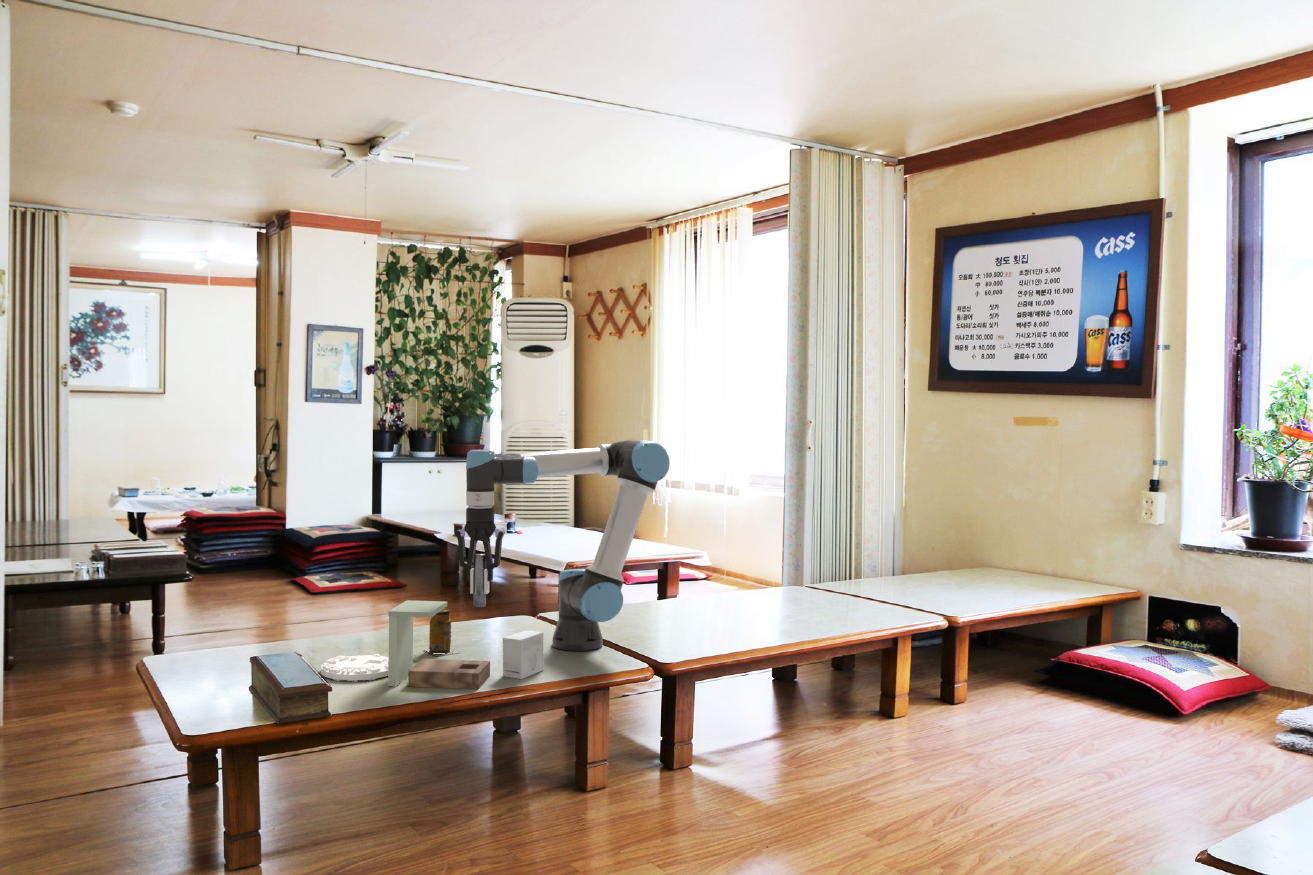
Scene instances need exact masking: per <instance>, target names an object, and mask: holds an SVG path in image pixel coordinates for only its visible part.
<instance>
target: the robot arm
mask: <svg viewBox="0 0 1313 875" xmlns="http://www.w3.org/2000/svg"><path fill="white" fill-rule="evenodd" d="M669 457H670V456H669V454H668V452H667V450H666V448H664V447H663V446H662V445H661V444H660V443H658V442H656V441H652V440H646V439H645V440H638V439H637V440H636V439H627V440H620V441H615V442H610V443H599V444H598V445H597V447H590V448H589V447H588V448H579V449H578V448H576V449H575V448H574V449H565V450H561V449H560V450H549V451H535V452H533V451H532V452H522V453H521V452H519V453H505V454H503V453H495V451H494V450H492V449H470V450H468V452H467V453H466V465H465V469H466V470H465V471H466V472H465V473H466V474H465V475H466V482H465V483H466V490H465V491H466V492H465V493H466V498H465V501H466V503H465V504H466V506H467V507H466V509H465V525H464V527H463V528H461V529H458V530H455V532H454V534H455V536H456V539H457V544H458V545H457V547H458V559H459V560H458V561H459V567H461V568H464V569H466V581H467V582H469V585H470V586H469V587H470V588H469V591H470V592H469V593H470V595H471V594H472V595H474V554H476V551H477V550H476V549H477V543H478V541H479V542H482V545H483V550H484V554H485V558H486V569H485V570H484V594H486V595H488V594H489V593H490V582H492V581H493V579H494V569H495V568H498V567H499V566H500V565H501V558H502V556H501V555H502V545H503V544H502V543H503V538H504V537H505V534H506V532H505V530H500V529H499V528H497V525H496V524H495V508H494V507H493V506H494V505H495V485H526V484H527V485H528V484H534V483H535V482H536V481H537V479H539V478H550V477H562V476H563V477H564V476H574V475H588V474H599V475H600V476H602V477H604V476H615V477H617V478H616V479H617V483H618V485H619V488H618V490H617V494H616V496H615V500H614V503H613V505H612V508H611V511H610V513H609V516H608V519H607V522H606V525H605V528H604V531H603V535H602V536H601V539H600V543H599V546H598V548H597V551H596V554H595V556H594V560H593V563H592V564H590V565H587V566H586V567H585V568H574V569H573V568H570V569H563V570H561V571H560V572H559V574H558V575H559V576H558V618H557V623H556V626H555V629H554V631H553V635H552V641H551V645H552V647H554V648H555V649H558V650H562V651H570V652H583V651H585V652H586V651H592V650H597V649H600V648H602V646H603V645H604V644H603V643H604V642H603V639H604V638H603V635H602V632H601V628H600V624H599V623H605V622H609V621H611V620H612V619H613V620H614V619H615V617H617V616H618V614H619V613H620V611H621V610H622V608H623V604H624V595H623V592H622V588H623V585H624V582H625V580H624V577H623V576H622V572H623V569H624V566H625V563H626V559H627V556H628V555H629V554H628V553H629V550H630V547H631V545H632V541H633V539H634V535H635V534H636V533H635V532H636V530H637V527H638V525H639V521H640V519H641V515H642V513H643V510H644V507H645V503H646V501H647V498H648V496H649V495H651V494H652V493H654V492H655V491H656V488H657V485H658V482H659V481H661V480H662V479H664V478H665V477H666V476H667V474H668V472H669V469H670V458H669ZM494 533H495V534H494ZM466 534H467V536H468V537H469V548H468V553H467V554H466V538H465V536H466ZM493 534H494V536H495V538H496V539H495V545H494V546H495V547H494V557H493V553H492V546H491V537H492V536H493Z"/></svg>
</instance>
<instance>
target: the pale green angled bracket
mask: <svg viewBox="0 0 1313 875" xmlns="http://www.w3.org/2000/svg"><path fill="white" fill-rule="evenodd" d="M446 607H448V601H443V600H442V601H441V600H440V601H438V600H437V601H436V600H405V601H403V602H402V603H400V604H398V605H397V606H395V607H393V608H391V609H390V610H388V611H387V612H388V614H387V615H388V657H389V664H388V677H387V679H388V680H387V681H388V682H387V687H388V686H395V688H396V687H398V686H399V685H400V684H401V683H402V682H404V680H406V679H407V678H408V672H409V670H410V669H411V668H413V667H414V665H413V663H414V660H413V659H414V658H413V656H414V653H413V652H414V618H415V617H416V618H431V617H433V616H434V615H435V614H437V613H438V612H440V611H441V610H442V609H446ZM399 683H400V684H399ZM397 685H398V686H397Z"/></svg>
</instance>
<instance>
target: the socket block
mask: <svg viewBox="0 0 1313 875" xmlns="http://www.w3.org/2000/svg"><path fill="white" fill-rule="evenodd" d="M490 676H491V661H490V660H470V659H469V660H468V659H467V660H466V659H441V658H439V659H438V658H422V659H421V660H420V661H419V662H418V663H417V664H415V665H413V668H411V669H410V670H409V672H408V677H407V678H408V684H407V686H408V687H409V688H411V687H412V688H431V689H432V688H436V689H439V688H440V689H458V690H459V689H463V690H479V689H480V688H481V687H482V686H483V685H484V684H485V683H486V681H487V680H488V679H489V678H490Z"/></svg>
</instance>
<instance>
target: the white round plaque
mask: <svg viewBox="0 0 1313 875" xmlns="http://www.w3.org/2000/svg"><path fill="white" fill-rule="evenodd" d="M388 664H389V656H385V655H381V654H380V653H375V654H373V655H371V654H370V655H368V654H366V655H362V654H361V655H351V656H349V655H348V656H347V655H337V656H335V657H334V658H332V657H331V658H330V657H329V658H328V659H326V661H325V662H324V663H322V664H321V665H320V675H322V676H323V677H325V678H328V679H332V680H333V681H336V682H341V681H342V680H343V681H347V682H349V681H352V682H354V683H357V682H358V680H359V681H365V680H369V681H375V680H376V679H379V678H384V677H387V676H388ZM340 680H341V681H340Z"/></svg>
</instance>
